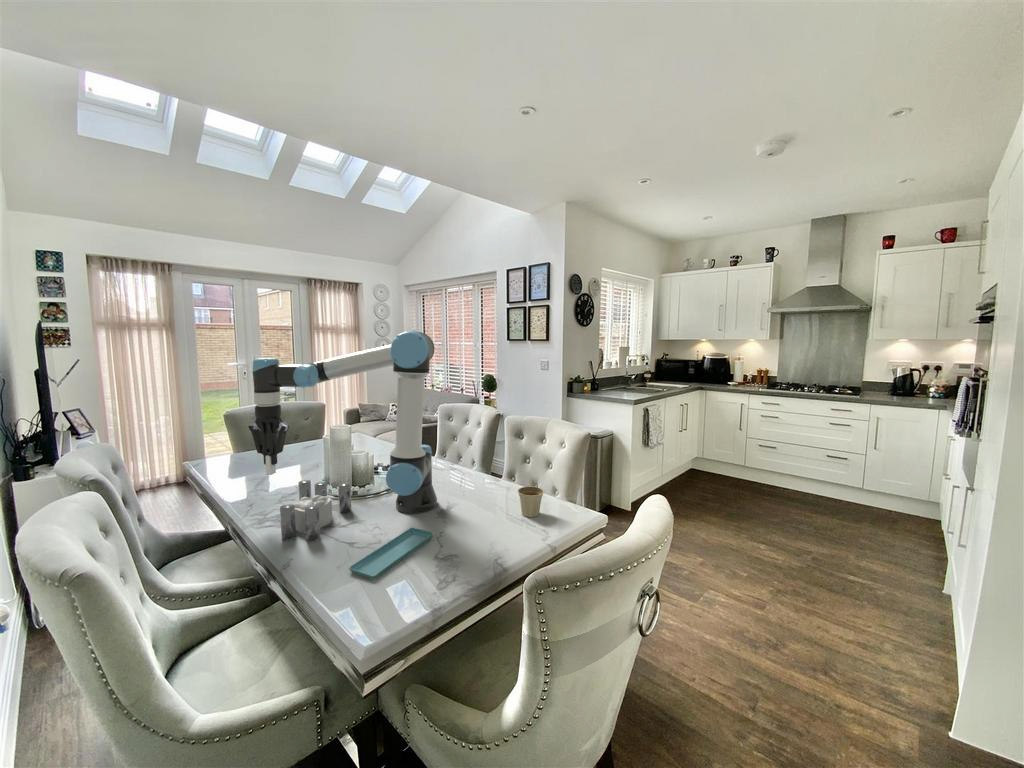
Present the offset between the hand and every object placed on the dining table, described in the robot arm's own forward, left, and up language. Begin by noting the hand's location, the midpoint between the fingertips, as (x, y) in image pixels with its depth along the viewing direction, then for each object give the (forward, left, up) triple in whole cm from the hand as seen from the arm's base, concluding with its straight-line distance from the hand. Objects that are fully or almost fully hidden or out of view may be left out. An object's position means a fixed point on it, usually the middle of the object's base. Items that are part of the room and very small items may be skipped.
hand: (271, 473), depth 140 cm
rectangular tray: (-49, +18, -18) cm, 55 cm away
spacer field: (-12, -1, -17) cm, 21 cm away
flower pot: (-87, -14, -17) cm, 90 cm away
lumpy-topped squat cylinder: (-14, 0, -17) cm, 22 cm away
